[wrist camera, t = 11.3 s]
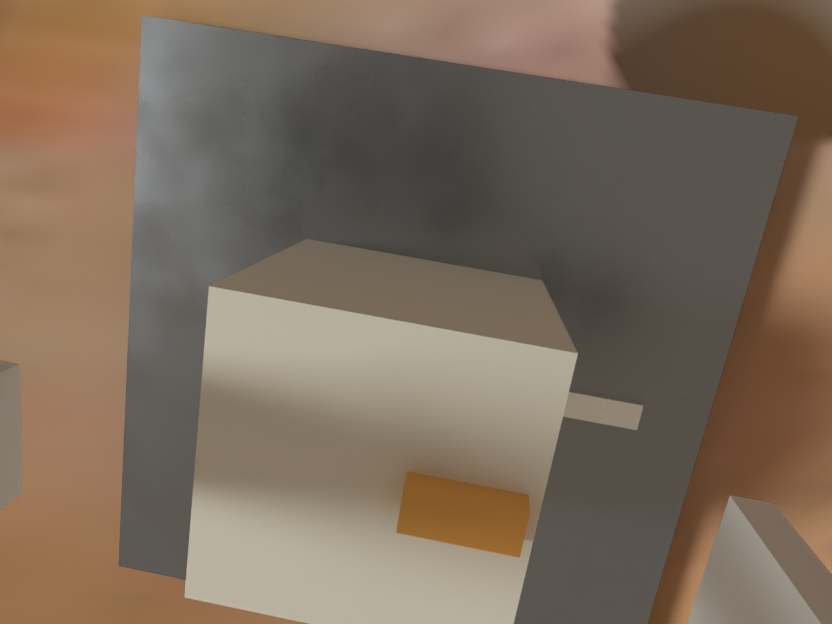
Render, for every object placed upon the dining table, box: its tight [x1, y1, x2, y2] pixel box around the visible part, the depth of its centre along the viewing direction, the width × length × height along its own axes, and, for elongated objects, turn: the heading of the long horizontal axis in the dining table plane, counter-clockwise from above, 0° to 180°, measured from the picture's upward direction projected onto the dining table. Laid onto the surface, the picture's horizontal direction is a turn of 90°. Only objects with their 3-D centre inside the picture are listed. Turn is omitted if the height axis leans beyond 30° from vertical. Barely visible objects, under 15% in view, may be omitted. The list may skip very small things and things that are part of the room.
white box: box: [185, 239, 578, 624], centre depth 16 cm, size 7×7×8 cm
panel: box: [119, 15, 798, 624], centre depth 17 cm, size 18×18×6 cm
